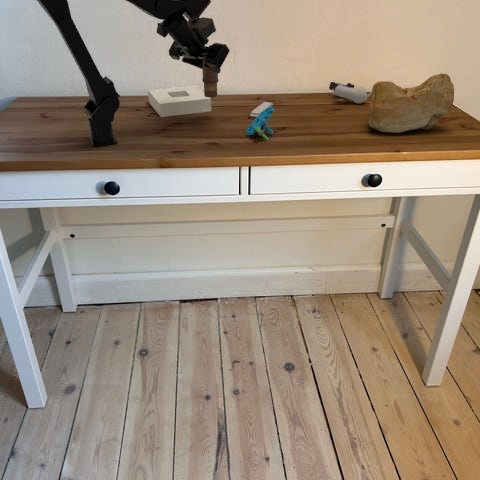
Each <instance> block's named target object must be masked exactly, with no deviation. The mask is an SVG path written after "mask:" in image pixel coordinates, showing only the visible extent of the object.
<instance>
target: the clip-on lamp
mask: <svg viewBox="0 0 480 480" xmlns="http://www.w3.org/2000/svg"><path fill="white" fill-rule="evenodd" d="M328 90H331V91H332V95H333V96H337V97H340V98H345V99H348V100H351V101H352V102H353V103H355V104H357V105H358V104H359V105H360V104H362V103H363V102H365V101H367V99H368V98H369V97H370V96H372V91H373V87H372V88H371V91H370V93H369V94H368V93H367V92H366V89H365V88H364V87H362V86H361V87H360V86H359V87H355V84H353V83H351V82H347V83H346V84H344V83H341V82H339V83H338V82H335V81H330V83H329V86H328Z"/></svg>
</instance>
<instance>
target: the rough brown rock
mask: <svg viewBox="0 0 480 480" xmlns="http://www.w3.org/2000/svg"><path fill="white" fill-rule="evenodd" d="M372 88H373V91H372V93H371V98H370V101H369V106H368V119H367V120H368V121H367V122H368V126H369V127H370V128H372V129H374V130H376V131H379V132H381V133H391V134H398V133H405V132H407V131H411V130H419V129H421V130H430V129H432V128H433V126H434V125H435V124H436V123H438V121H439V119H440V118H441V117H444V116H445V115H446V114H447V113H448V112H451V110H452V109H453V106H454V100H455V86H454V83H453V82H452V80H451V77H450V76H449V74H448V73H438V74H434V75H431V76H430V77H429V78H427V79H426V80H424V82H422V83H420V84H419V85H417V86H413V87H405V88H402V87H401V86H399V85H397V84H396V83H395V82H393V81H386V80H385V81H383V80H381V81H380V80H379V81H376V82H375V83H374V84H373V86H372Z"/></svg>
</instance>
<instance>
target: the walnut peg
mask: <svg viewBox="0 0 480 480" xmlns="http://www.w3.org/2000/svg"><path fill="white" fill-rule="evenodd" d="M204 64H205V57H204V58H203V59H202V69H201V71H202V78H201V79H202V83H203V88H204V89H203V92H204V96H205V97H210V98H216V97H218V82H219V73H216V72H214V71H212V70H210V69H208V68H206V67H204Z"/></svg>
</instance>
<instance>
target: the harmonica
mask: <svg viewBox="0 0 480 480" xmlns="http://www.w3.org/2000/svg"><path fill="white" fill-rule="evenodd" d="M271 106H272V107H273V108H274V107H275V103H272V102H268V101H263V102H262V103H261V104H260V105H258V106H257V107H256V108H254V109H253V110H252V111H251V112H250V114H249V115H248V117H247V119H250V120H254V119H255V118H256V117H259V116H260V113H261V112H263V111H265V110H266V109H267V108H268V107H269V108H270V107H271Z"/></svg>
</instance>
